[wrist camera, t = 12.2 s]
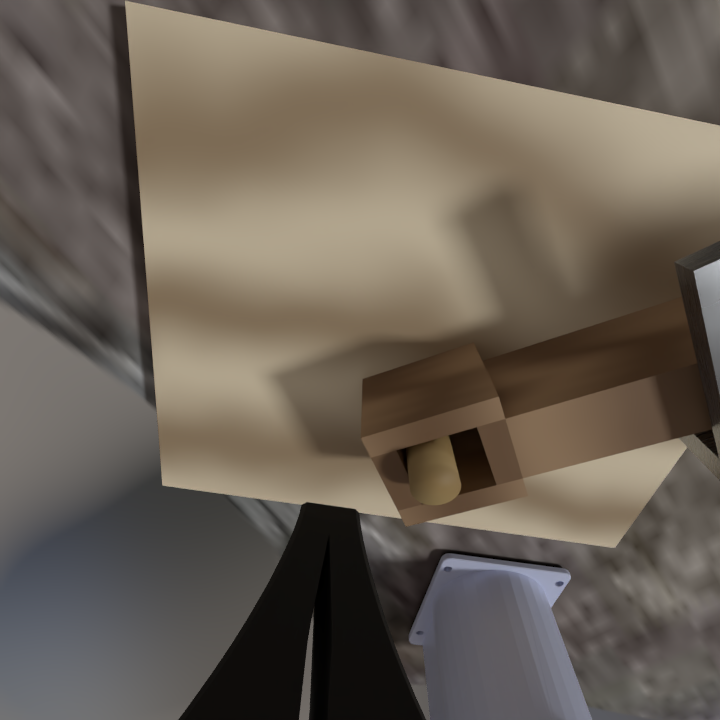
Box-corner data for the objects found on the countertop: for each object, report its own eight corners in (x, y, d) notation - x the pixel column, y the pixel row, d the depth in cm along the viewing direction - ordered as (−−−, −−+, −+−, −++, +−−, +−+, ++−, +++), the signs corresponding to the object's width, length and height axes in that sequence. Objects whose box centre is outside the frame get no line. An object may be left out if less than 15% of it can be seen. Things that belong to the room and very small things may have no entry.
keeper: (596, 225, 15) (693, 271, 11) (654, 196, 15) (782, 230, 10) (653, 412, 19) (742, 503, 15) (700, 394, 19) (808, 483, 14)
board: (607, 535, 25) (669, 643, 20) (168, 474, 23) (111, 574, 18) (868, 159, 15) (1124, 180, 10) (137, 6, 13) (-7, -64, 8)
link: (400, 459, 21) (405, 526, 18) (362, 379, 19) (360, 437, 15) (722, 367, 18) (806, 426, 15) (723, 259, 16) (822, 298, 12)
